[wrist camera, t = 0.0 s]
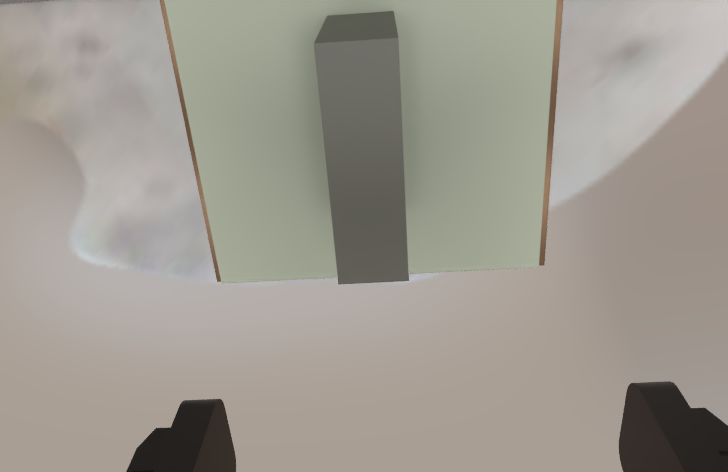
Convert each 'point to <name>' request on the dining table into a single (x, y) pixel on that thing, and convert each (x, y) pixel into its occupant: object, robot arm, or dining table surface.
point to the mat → (17, 1)
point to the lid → (368, 133)
